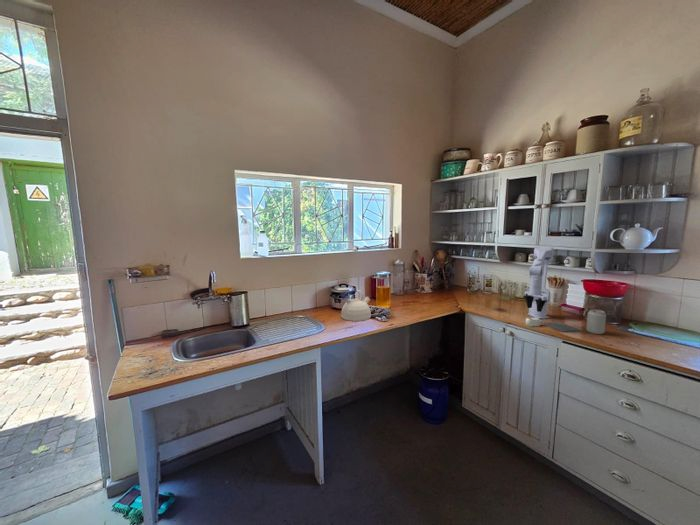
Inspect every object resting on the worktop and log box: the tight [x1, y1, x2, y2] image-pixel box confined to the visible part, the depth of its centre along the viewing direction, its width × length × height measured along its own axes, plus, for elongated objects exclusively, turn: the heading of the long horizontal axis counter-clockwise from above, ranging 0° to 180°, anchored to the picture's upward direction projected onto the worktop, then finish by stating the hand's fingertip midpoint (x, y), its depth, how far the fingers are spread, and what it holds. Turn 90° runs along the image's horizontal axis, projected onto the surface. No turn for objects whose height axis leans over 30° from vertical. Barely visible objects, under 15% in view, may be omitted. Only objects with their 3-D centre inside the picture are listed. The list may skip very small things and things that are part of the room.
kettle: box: [340, 289, 372, 322], centre depth 189 cm, size 20×21×18 cm
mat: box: [542, 321, 581, 333], centre depth 162 cm, size 14×10×1 cm
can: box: [586, 309, 607, 335], centre depth 152 cm, size 8×8×12 cm
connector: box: [525, 317, 544, 327], centre depth 165 cm, size 9×3×4 cm, turn 95°
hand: (534, 309), depth 164 cm, fingers open, 7 cm apart
